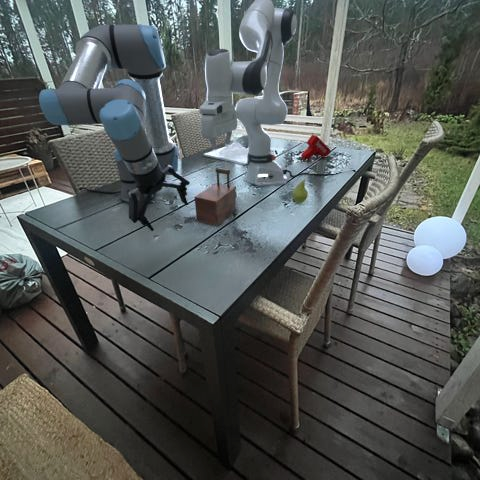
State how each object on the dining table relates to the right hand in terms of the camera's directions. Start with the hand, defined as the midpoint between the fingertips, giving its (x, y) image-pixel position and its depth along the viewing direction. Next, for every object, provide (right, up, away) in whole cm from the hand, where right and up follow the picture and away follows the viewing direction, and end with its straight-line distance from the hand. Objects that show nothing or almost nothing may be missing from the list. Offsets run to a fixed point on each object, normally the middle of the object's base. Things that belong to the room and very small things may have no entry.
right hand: (221, 146), depth 102 cm
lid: (-3, -17, +5) cm, 18 cm away
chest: (-3, -25, +9) cm, 27 cm away
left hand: (-16, -27, -16) cm, 36 cm away
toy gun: (+56, +18, +75) cm, 95 cm away
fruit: (+34, -18, +20) cm, 43 cm away
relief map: (+4, +22, +83) cm, 86 cm away
